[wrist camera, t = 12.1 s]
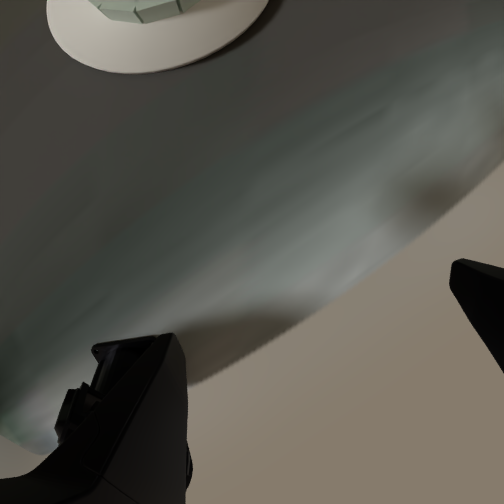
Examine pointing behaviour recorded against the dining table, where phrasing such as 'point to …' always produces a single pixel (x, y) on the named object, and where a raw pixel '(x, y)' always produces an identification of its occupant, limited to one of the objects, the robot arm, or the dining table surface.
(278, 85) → the dining table surface
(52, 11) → the carrier socket
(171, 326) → the dining table surface
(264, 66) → the dining table surface
